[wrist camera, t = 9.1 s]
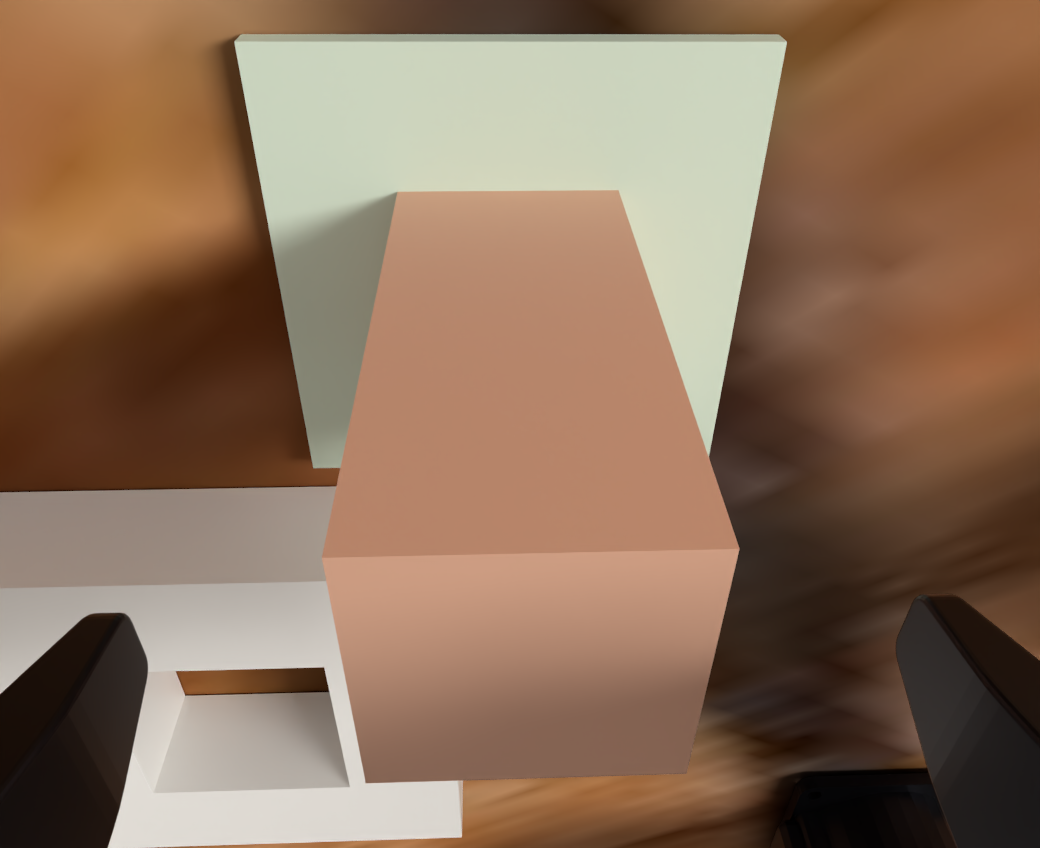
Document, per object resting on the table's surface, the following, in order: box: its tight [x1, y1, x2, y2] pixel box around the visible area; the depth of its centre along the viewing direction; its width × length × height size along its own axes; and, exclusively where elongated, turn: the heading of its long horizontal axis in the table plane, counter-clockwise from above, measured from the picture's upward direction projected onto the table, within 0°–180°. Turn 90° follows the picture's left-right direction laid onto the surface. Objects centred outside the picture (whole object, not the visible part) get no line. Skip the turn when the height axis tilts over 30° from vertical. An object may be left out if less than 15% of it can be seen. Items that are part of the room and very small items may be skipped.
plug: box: [322, 190, 739, 783], centre depth 13 cm, size 4×4×9 cm
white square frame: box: [0, 486, 463, 848], centre depth 22 cm, size 11×11×3 cm
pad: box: [234, 34, 787, 468], centre depth 17 cm, size 9×9×1 cm
